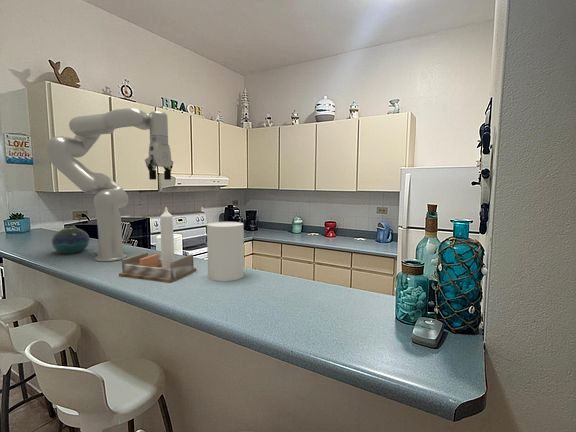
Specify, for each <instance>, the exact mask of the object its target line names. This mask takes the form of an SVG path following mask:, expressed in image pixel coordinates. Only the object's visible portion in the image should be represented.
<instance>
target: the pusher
mask: <svg viewBox="0 0 576 432" xmlns="http://www.w3.org/2000/svg"><path fill="white" fill-rule="evenodd" d="M159 259H160V256H159V253H155V254H152V255H148V257H145V258H142V259H139V262H140V266H149V267H158V266H159Z"/></svg>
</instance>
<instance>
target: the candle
mask: <svg viewBox="0 0 576 432" xmlns="http://www.w3.org/2000/svg"><path fill="white" fill-rule="evenodd" d="M159 219H160V220H159V223H160V246H161V248H160V249H161V251H160V253H161V259H162V268H167V269H171V268H170V262H171V261H174V260H175V246H174V245H175V242H174V216H173V215H172V214H171V213H170V212H169V210H168V207H167V206H165V208H164V211H163V213H162V214H161V215H160V216H159Z"/></svg>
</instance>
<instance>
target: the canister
mask: <svg viewBox="0 0 576 432" xmlns="http://www.w3.org/2000/svg"><path fill="white" fill-rule="evenodd" d="M244 225H245V224H244V223H243V222H239V221H217V222H216V221H214V222H209V223H207V224H206V238H207V239H206V242H207V243H206V244H207V245H206V248H207V249H206V251H207V278H208V279H209V280H212V281H214V282H215V281H216V282H231V281H233V282H234V281H235V280H240V279H242V278H244V276H245V258H244V257H245V252H244V251H245V249H244V248H245V246H244V244H245V240H244V236H245V235H244V234H245V231H244V230H245V229H244Z"/></svg>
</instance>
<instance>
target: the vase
mask: <svg viewBox="0 0 576 432" xmlns="http://www.w3.org/2000/svg"><path fill="white" fill-rule="evenodd" d="M89 244H90V236H89V234H88V233H87V232H86V231H85V230H83V229H81V228H77V227H76V225H74V224H73V225H72V224H69V225H65V226H64V228H63V229H62V228H61V229H60V230H59V231H57V232H55V234H54V235H53V236H52V237H51V245H52V248H53V249H54V250H55V251H56V252H58V253H60V254H64V255H65V254H66V255H69V254H77V253H81V252H83V251H84V250H86V249H87V247H88V246H89Z"/></svg>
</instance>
